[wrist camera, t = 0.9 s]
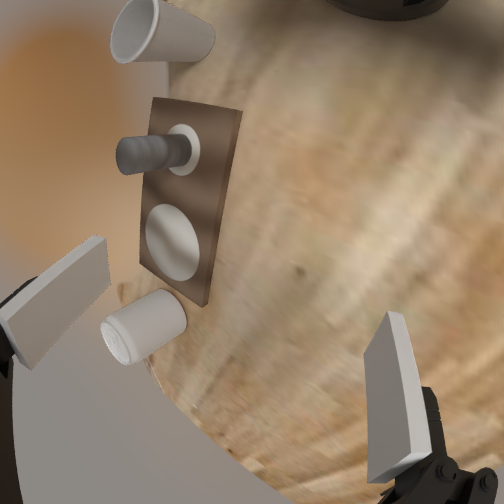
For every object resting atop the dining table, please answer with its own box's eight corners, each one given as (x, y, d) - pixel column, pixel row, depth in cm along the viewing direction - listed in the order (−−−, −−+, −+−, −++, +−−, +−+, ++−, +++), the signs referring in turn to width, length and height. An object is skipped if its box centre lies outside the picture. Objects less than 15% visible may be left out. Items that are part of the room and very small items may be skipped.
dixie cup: (176, 21, 29) (114, 7, 21) (226, 7, 25) (161, -19, 17) (171, 76, 32) (105, 70, 25) (221, 68, 28) (151, 53, 21)
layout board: (160, 97, 35) (100, 96, 27) (242, 111, 29) (177, 105, 22) (145, 260, 47) (98, 281, 40) (207, 304, 41) (158, 335, 34)
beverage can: (161, 323, 51) (108, 355, 41) (151, 282, 48) (93, 312, 39) (193, 337, 46) (137, 376, 37) (184, 293, 44) (121, 329, 34)
